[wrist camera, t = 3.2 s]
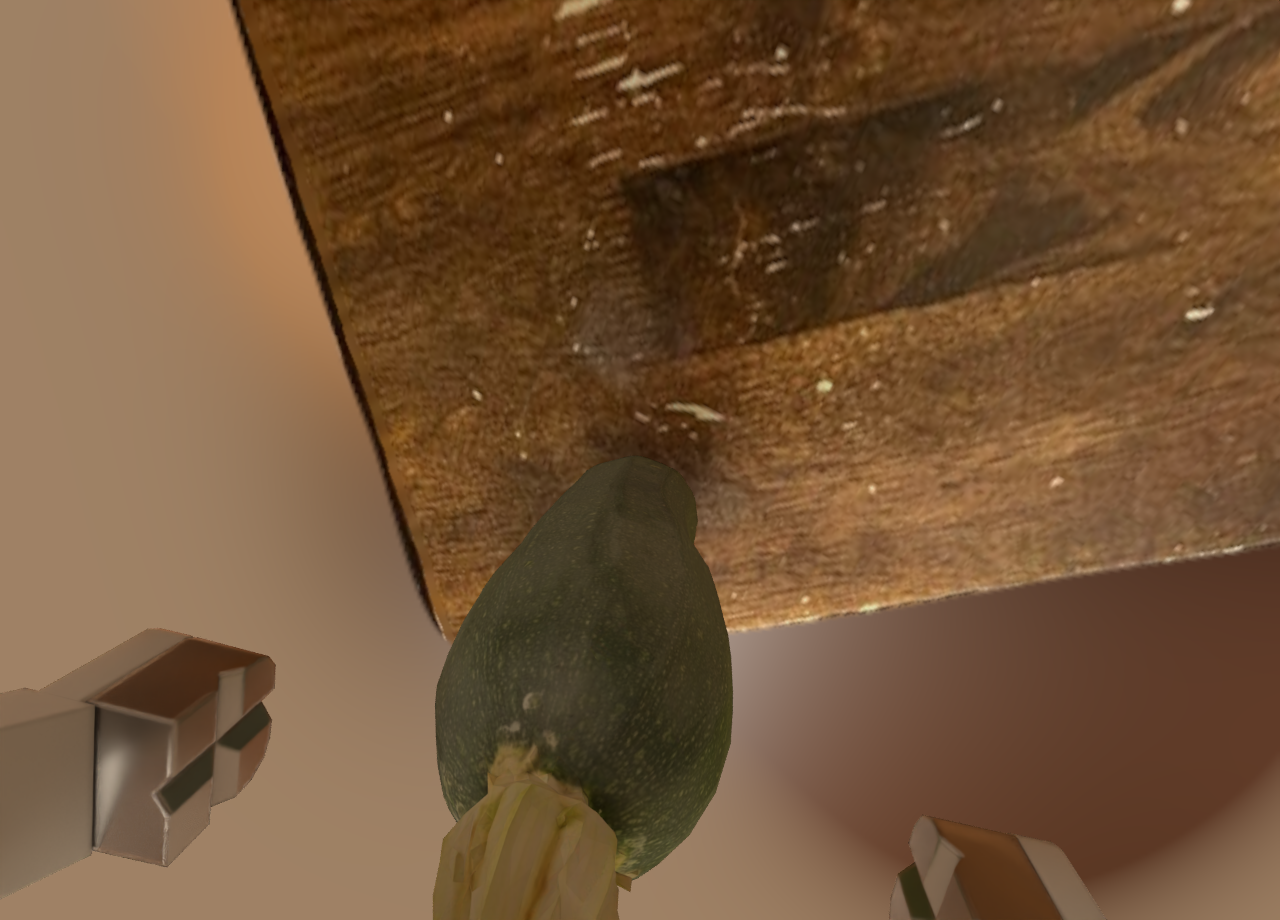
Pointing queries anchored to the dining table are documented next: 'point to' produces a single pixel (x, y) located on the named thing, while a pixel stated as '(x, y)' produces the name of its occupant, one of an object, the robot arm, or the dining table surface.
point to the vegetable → (583, 705)
